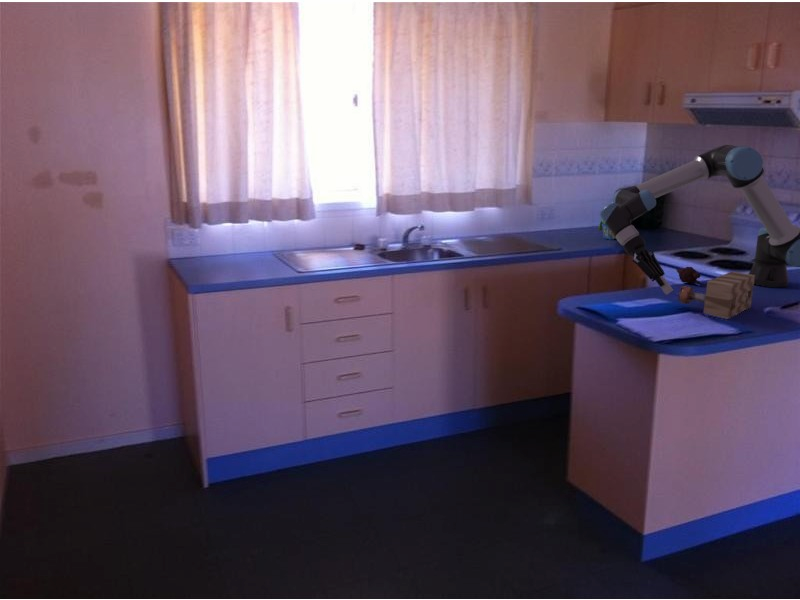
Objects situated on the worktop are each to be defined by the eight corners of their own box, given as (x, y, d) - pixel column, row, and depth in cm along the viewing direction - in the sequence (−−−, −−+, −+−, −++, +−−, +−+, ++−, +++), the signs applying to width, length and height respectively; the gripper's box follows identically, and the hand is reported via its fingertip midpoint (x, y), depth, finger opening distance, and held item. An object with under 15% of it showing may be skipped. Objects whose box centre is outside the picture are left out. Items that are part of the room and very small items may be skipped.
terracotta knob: (685, 300, 256) (687, 284, 254) (714, 306, 249) (716, 289, 247) (677, 304, 252) (679, 287, 250) (707, 309, 245) (709, 292, 243)
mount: (726, 303, 261) (730, 271, 258) (750, 307, 255) (755, 275, 252) (701, 315, 246) (706, 281, 242) (726, 320, 240) (731, 285, 237)
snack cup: (628, 240, 383) (630, 221, 380) (613, 242, 378) (615, 223, 375) (607, 235, 396) (609, 217, 393) (593, 237, 391) (594, 218, 389)
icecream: (668, 264, 295) (691, 275, 282) (683, 259, 296) (707, 270, 283) (669, 279, 298) (692, 291, 284) (684, 274, 299) (708, 285, 286)
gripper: (631, 244, 270) (669, 295, 263) (614, 248, 261) (653, 301, 254) (646, 232, 265) (685, 283, 258) (629, 236, 256) (669, 289, 249)
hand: (669, 292), depth 256 cm, fingers closed
